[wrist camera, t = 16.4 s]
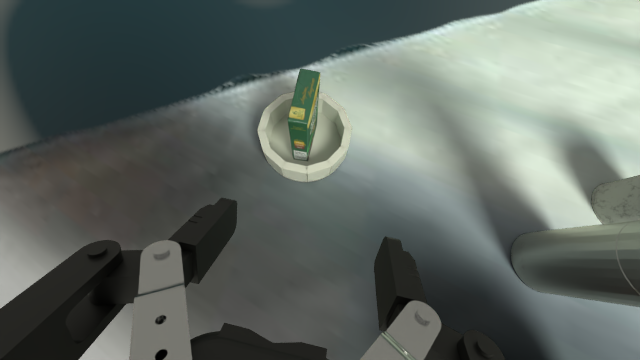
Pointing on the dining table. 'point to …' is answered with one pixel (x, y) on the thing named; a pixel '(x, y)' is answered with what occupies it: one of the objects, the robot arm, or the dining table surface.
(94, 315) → the robot arm
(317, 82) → the coffee box
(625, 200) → the grey cylinder
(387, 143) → the dining table surface
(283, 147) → the bowl
